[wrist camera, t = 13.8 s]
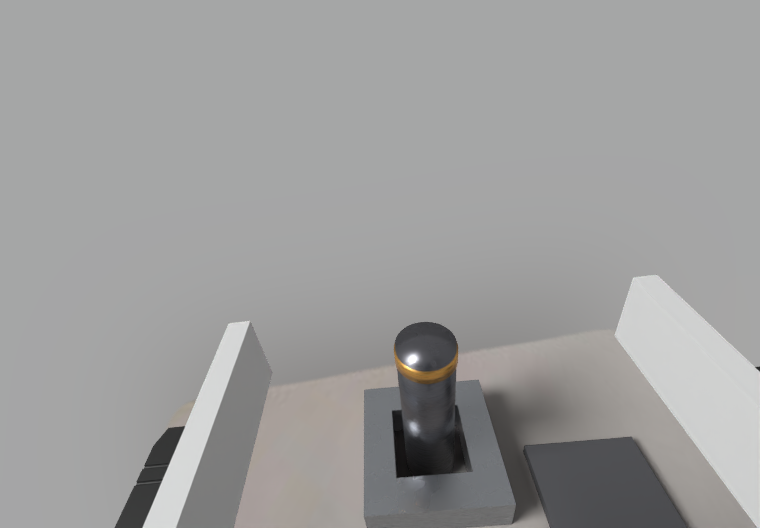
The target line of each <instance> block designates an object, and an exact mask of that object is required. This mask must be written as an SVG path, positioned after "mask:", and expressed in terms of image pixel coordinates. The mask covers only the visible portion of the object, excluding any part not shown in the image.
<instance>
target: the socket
mask: <svg viewBox="0 0 760 528" xmlns="http://www.w3.org/2000/svg"><path fill="white" fill-rule="evenodd" d="M455 426H457V428H458V433H459V438H460V442H461V447H462V452H463V456H464V461H465V465H466V470H467V472H465V473H452V474H440V475H427V476H415V477H403V478H398V476H397V461H396V446H395V431H398V430H404V429H403V419H402V410H401V400H400V390H399V387H390V388H379V389H367V390H364V519H365V522H366V526H367V528H466V527H479V526H492V525H505V524H512V521H513V516H514V512H515V507H516V502H515V499H514V496H513V492H512V489H511V486H510V482H509V479H508V476H507V472H506V469H505V466H504V462H503V459H502V456H501V452H500V449H499V446H498V442H497V439H496V436H495V432H494V429H493V426H492V422H491V419H490V416H489V412H488V409H487V406H486V402H485V399H484V396H483V392H482V389H481V386H480V382H479V380H470V381H459V382H456V394H455Z"/></svg>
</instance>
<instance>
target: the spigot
mask: <svg viewBox="0 0 760 528" xmlns="http://www.w3.org/2000/svg"><path fill="white" fill-rule="evenodd" d="M394 355H395V363H396V367H397V371H398V381H399V390H400V400H401V410H402V419H403V429H404V439H405V448H406V458H407V465H408V468H409V470H410V472H411V473H412V475H413V476H414V477H415V476H427V475H440V474H450V473H451V471H452V469H453V464H454V430H455V394H456V367H457V363H458V344H457V341H456V338H455V336H454V335H453V333H452V332H451V331H450V330H448V329H447V328H446V327H444V326H442V325H440V324H436V323H432V322H420V323H415V324H412V325H409V326H407V327H406V328H404V329H403V330H402V331H401V332H400V333H399V334H398V336H397V337H396V340H395V344H394Z"/></svg>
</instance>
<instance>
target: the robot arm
mask: <svg viewBox="0 0 760 528" xmlns="http://www.w3.org/2000/svg"><path fill="white" fill-rule="evenodd" d="M615 337H616V338H617V340H618V341H619V342H620V344H621V345H622V346H623V348H624V349H625V350H626V352H627V353H628V354H629V356H630V357H631V358H632V360H633V361H634V363H635V364H636V365H637V367H638V368H639V369H640V371H641V372H642V373H643V375H644V376H645V377H646V379H647V380H648V381H649V383H650V384H651V385H652V387H653V388H654V389H655V391H656V392H657V393H658V395H659V396H660V397H661V399H662V400H663V402H664V403H665V404H666V406H667V407H668V408H669V410H670V411H671V412H672V414H673V415H674V416H675V418H676V419H677V420H678V422H679V423H680V424H681V426H682V427H683V428H684V430H685V431H686V432H687V434H688V435H689V437H690V438H691V439H692V441H693V442H694V443H695V445H696V446H697V447H698V449H699V450H700V451H701V453H702V454H703V455H704V457H705V458H706V459H707V461H708V462H709V463H710V465H711V466H712V467H713V469H714V470H715V471H716V473H717V474H718V476H719V477H720V478H721V480H722V481H723V482H724V484H725V485H726V486H727V488H728V489H729V490H730V492H731V493H732V494H733V496H734V497H735V498H736V500H737V501H738V502H739V504H740V505H741V506H742V508H743V509H744V510H745V512H746V513H747V515H748V516H749V517H750V519H751V520H752V521H753V523H754V524H755V525H756V527H757V528H760V367H754V366H753V365H752V364H751V363H750V362H749V361H748V360H747V359H746V358H745V357H744V356H743V355H741V354H740V353H739V352H738V351H737V350H736V349H735V348H734V347H733V346H732V345H731V344H730V343H729V342H728V341H727V340H725V339H724V338H723V337H722V336H721V335H720V334H719V333H718V332H717V331H716V330H715V329H714V328H713V327H712V326H711V325H710V324H709V323H707V322H706V321H705V320H704V319H703V318H702V317H701V316H700V315H699V314H698V313H697V312H696V311H695V310H694V309H693V308H692V307H690V306H689V305H688V304H687V303H686V302H685V301H684V300H683V299H682V298H681V297H680V296H679V295H678V294H677V293H676V292H675V291H673V290H672V289H671V288H670V287H669V286H668V285H667V284H666V283H665V282H664V281H663V280H662V279H661V278H660V277H659V276H658V275H652V276H643V277H634V278H633V280H632V283H631V287H630V290H629V293H628V296H627V299H626V302H625V306H624V308H623V311H622V315H621V318H620V321H619V324H618V327H617V330H616V333H615ZM271 376H272V371H271V369H270V366H269V363H268V361H267V359H266V357H265V354H264V352H263V350H262V347H261V345H260V343H259V340H258V338H257V336H256V333H255V331H254V329H253V327H252V324H251V322H250V321H246V322H237V323H229V324H228V327H227V329H226V331H225V334H224V336H223V338H222V341H221V343H220V345H219V348H218V350H217V353H216V355H215V357H214V360H213V362H212V364H211V367H210V369H209V372H208V374H207V376H206V379H205V381H204V383H203V386H202V388H201V391H200V393H199V395H198V398H197V400H196V402H195V405H194V407H193V409H192V412H191V414H190V416H189V419H188V421H187V424H186V426H183V427H173V428H168V429H167V430H166V432H165V433H164V434H163V435H162V436H161V438H160V439H159V440H158V441H157V442H156V444H155V445H154V446H153V448H152V450H151V453H150V455H149V457H148V459H147V461H146V463H145V468H144V469H143V470H142V471H141V473H140V476H139V478H138V480H137V485H136V486H134V488H133V490H132V492H131V494H130V497H129V499H128V501H127V503H126V505H125V507H124V509H123V511H122V514H121V516H120V518H119V520H118V522H117V524H116V526H115V528H234V524H235V520H236V516H237V512H238V508H239V504H240V500H241V496H242V492H243V488H244V484H245V480H246V476H247V472H248V468H249V464H250V460H251V456H252V452H253V448H254V444H255V440H256V436H257V432H258V428H259V424H260V420H261V416H262V412H263V408H264V404H265V400H266V396H267V392H268V388H269V384H270V380H271Z"/></svg>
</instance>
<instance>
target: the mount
mask: <svg viewBox="0 0 760 528" xmlns="http://www.w3.org/2000/svg"><path fill="white" fill-rule="evenodd" d="M523 452H524V455H525V458H526V460H527V463H528V466H529V469H530V472H531V475H532V477H533V480H534V483H535V486H536V489H537V492H538V495H539V497H540V500H541V503H542V506H543V509H544V512H545V514H546V517H547V520H548V523H549V526H550V528H687V527H686V525H685V523H684V522H683V520H682V518H681V517H680V515H679V514H678V512H677V510H676V509H675V507H674V505H673V504H672V502H671V500H670V499H669V497H668V496H667V494H666V492H665V491H664V489H663V487H662V486H661V484H660V483H659V481H658V479H657V478H656V476H655V474H654V473H653V471H652V469H651V468H650V466H649V465H648V463H647V461H646V460H645V458H644V456H643V455H642V453H641V452H640V450H639V448H638V447H637V445H636V443H635V442H634V440H633V439H632V437H623V438H611V439H599V440H587V441H575V442H563V443H551V444H538V445H526V446H524V451H523Z"/></svg>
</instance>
